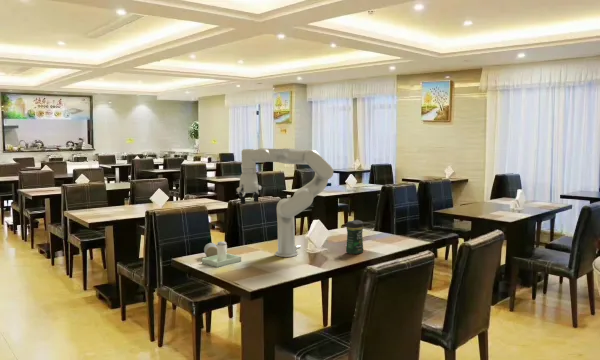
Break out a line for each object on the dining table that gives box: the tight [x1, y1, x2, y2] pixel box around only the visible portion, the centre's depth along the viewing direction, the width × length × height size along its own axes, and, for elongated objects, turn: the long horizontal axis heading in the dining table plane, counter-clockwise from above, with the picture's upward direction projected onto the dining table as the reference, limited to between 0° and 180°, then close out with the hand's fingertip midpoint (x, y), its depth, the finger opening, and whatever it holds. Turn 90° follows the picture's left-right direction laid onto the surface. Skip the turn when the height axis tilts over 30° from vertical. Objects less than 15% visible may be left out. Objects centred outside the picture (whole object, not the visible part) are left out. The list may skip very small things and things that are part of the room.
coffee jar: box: [345, 219, 364, 255], centre depth 274 cm, size 10×8×19 cm
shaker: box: [216, 241, 228, 262], centre depth 257 cm, size 5×5×10 cm
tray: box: [201, 253, 242, 268], centre depth 258 cm, size 16×13×3 cm
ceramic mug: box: [203, 242, 217, 257], centre depth 268 cm, size 11×8×8 cm
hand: (249, 202), depth 266 cm, fingers open, 9 cm apart
